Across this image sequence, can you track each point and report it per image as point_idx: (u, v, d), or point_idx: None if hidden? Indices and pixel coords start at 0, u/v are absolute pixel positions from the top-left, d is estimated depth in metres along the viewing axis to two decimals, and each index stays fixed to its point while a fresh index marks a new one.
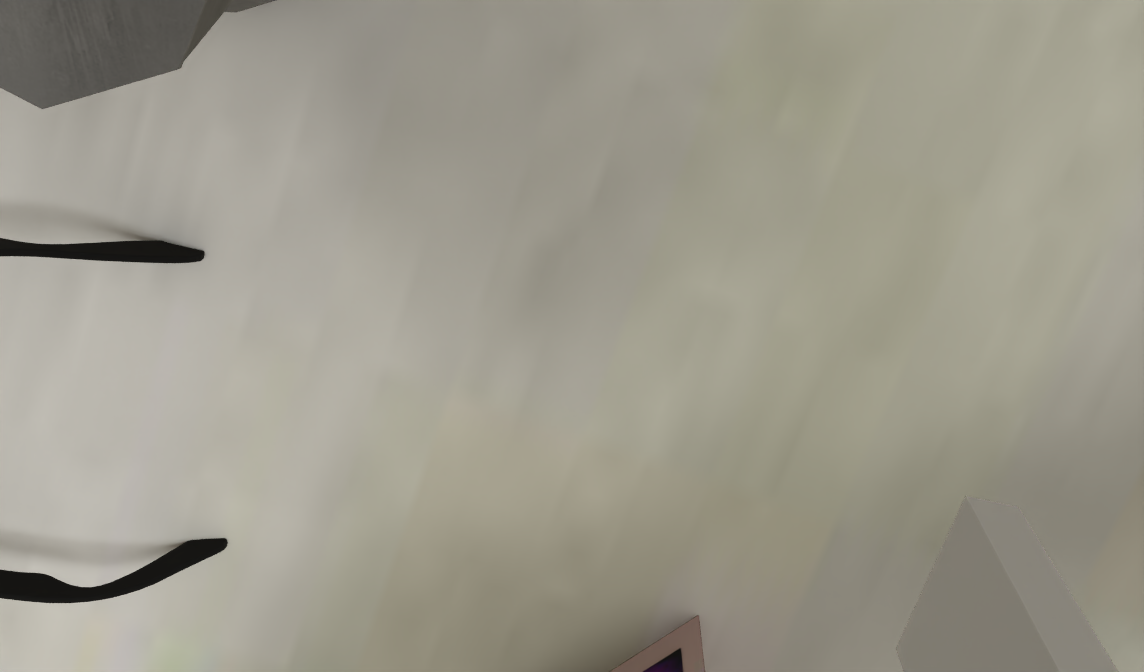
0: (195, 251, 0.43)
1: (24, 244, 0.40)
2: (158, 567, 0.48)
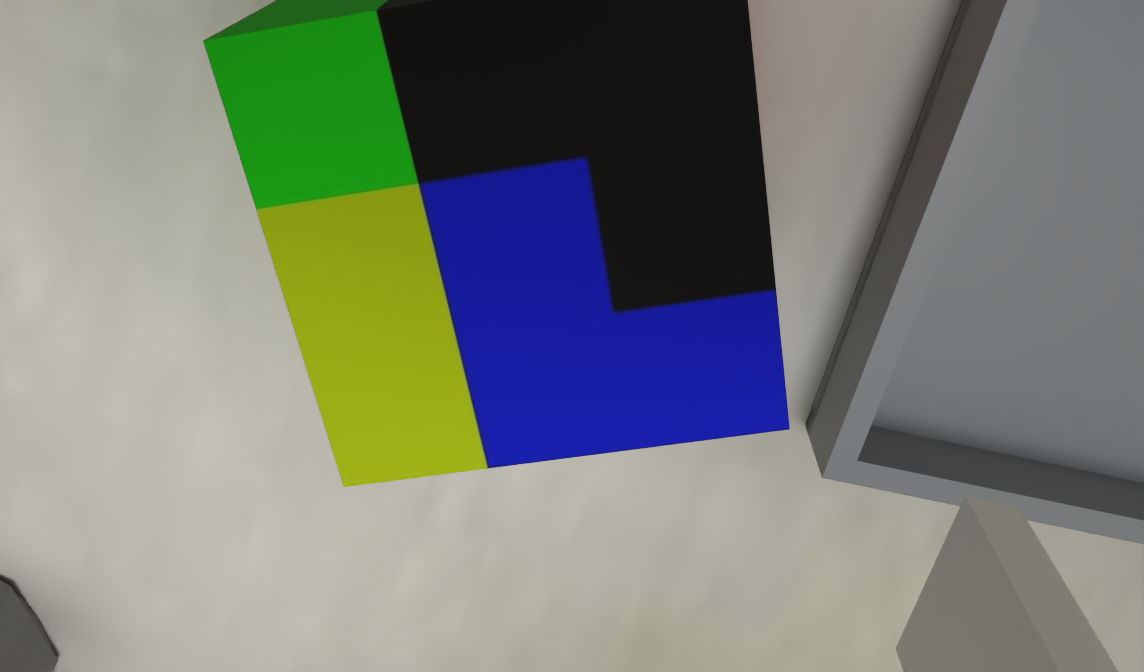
0: None
1: None
2: None
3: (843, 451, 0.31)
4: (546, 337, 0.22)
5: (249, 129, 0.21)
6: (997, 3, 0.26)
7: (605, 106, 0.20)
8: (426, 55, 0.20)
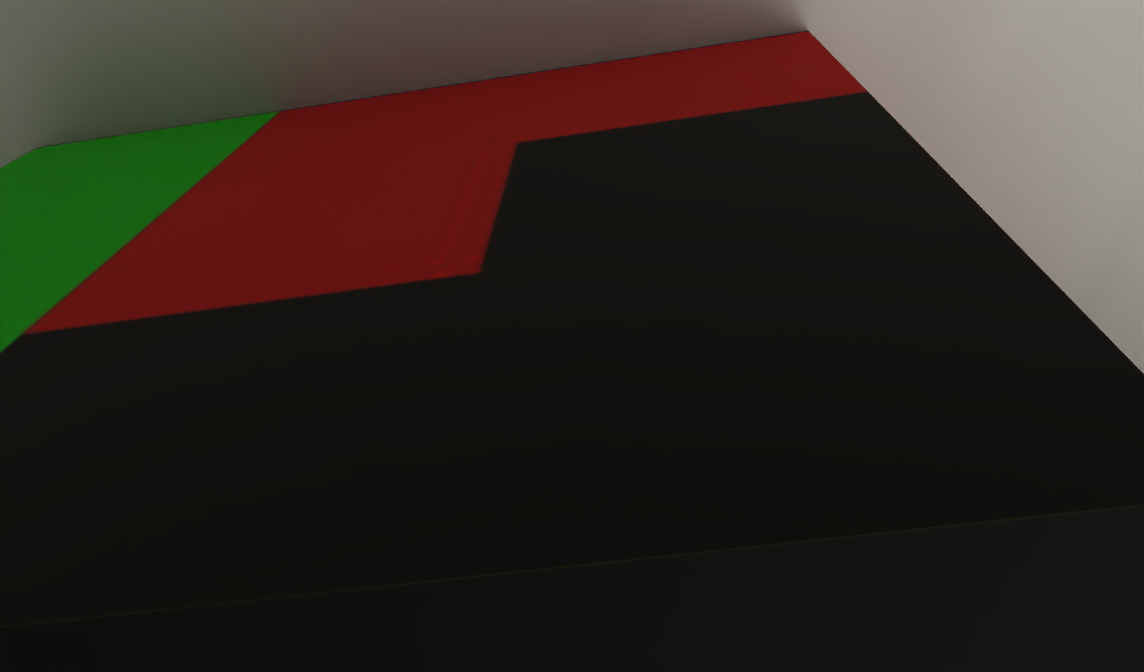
0: None
1: None
2: None
3: None
4: None
5: None
6: None
7: None
8: None
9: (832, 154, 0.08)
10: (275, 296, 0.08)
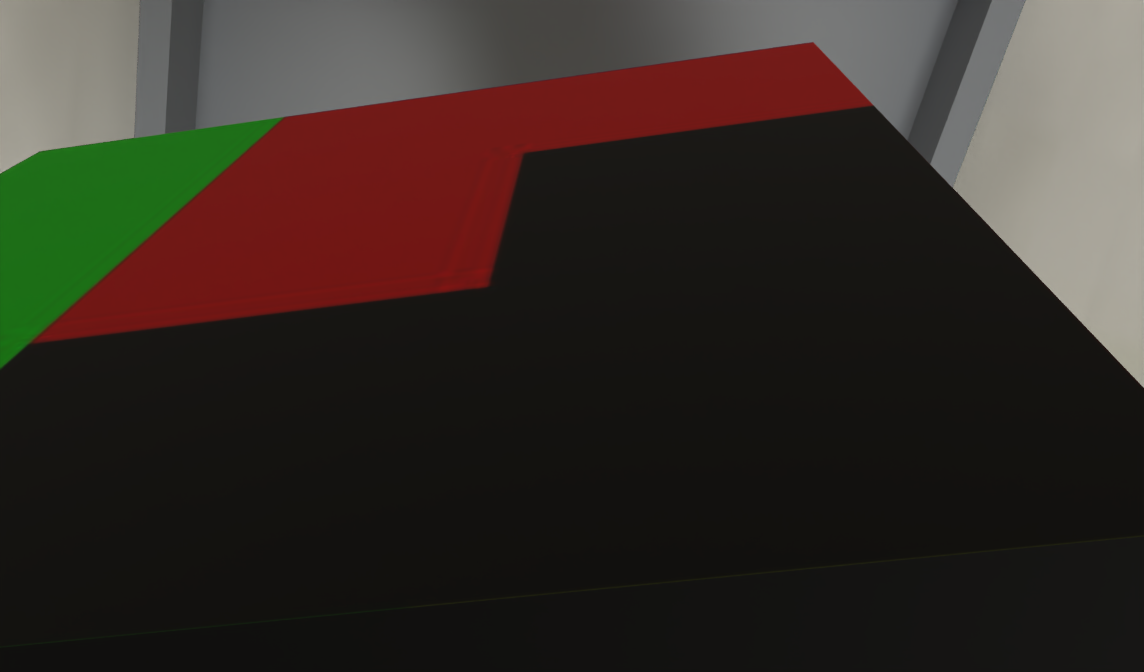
0: None
1: None
2: None
3: None
4: None
5: None
6: None
7: None
8: None
9: (837, 170, 0.08)
10: (285, 306, 0.08)
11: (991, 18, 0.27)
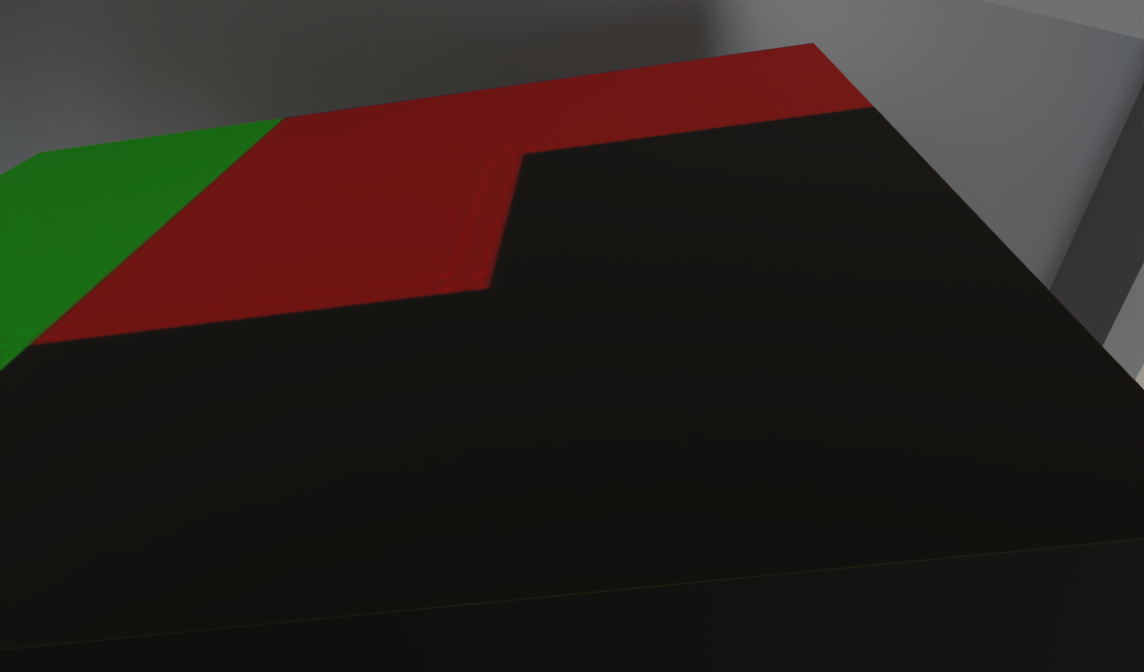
0: None
1: None
2: None
3: None
4: None
5: None
6: None
7: None
8: None
9: (839, 170, 0.08)
10: (285, 309, 0.08)
11: None
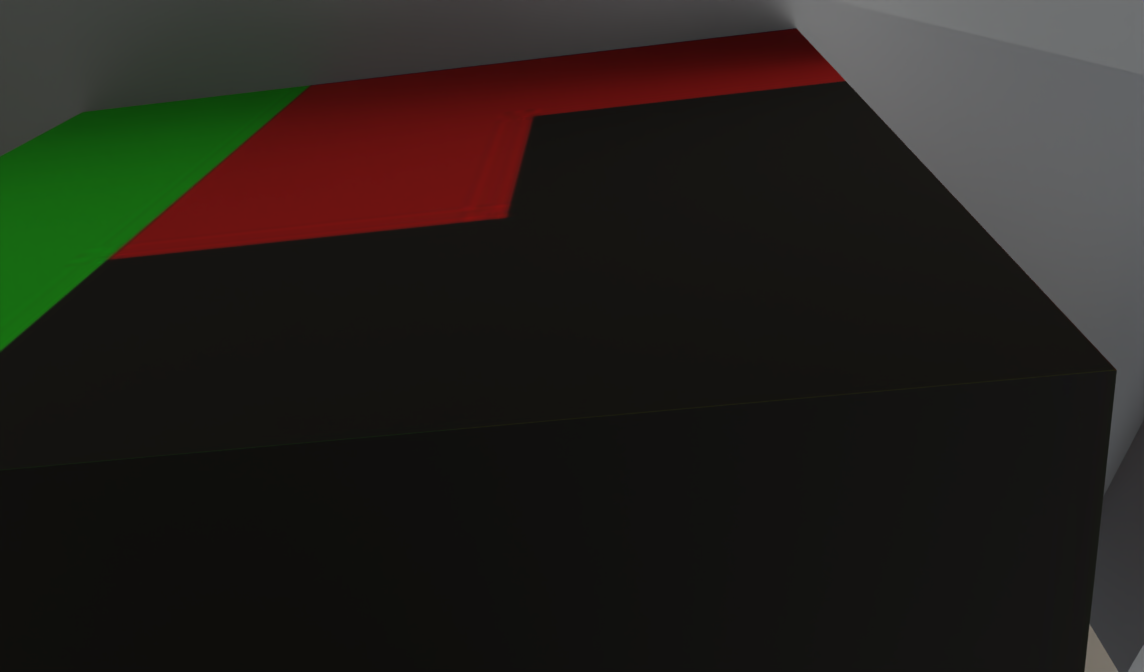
0: None
1: None
2: None
3: None
4: None
5: None
6: None
7: None
8: (32, 610, 0.06)
9: (811, 131, 0.10)
10: (330, 233, 0.09)
11: None
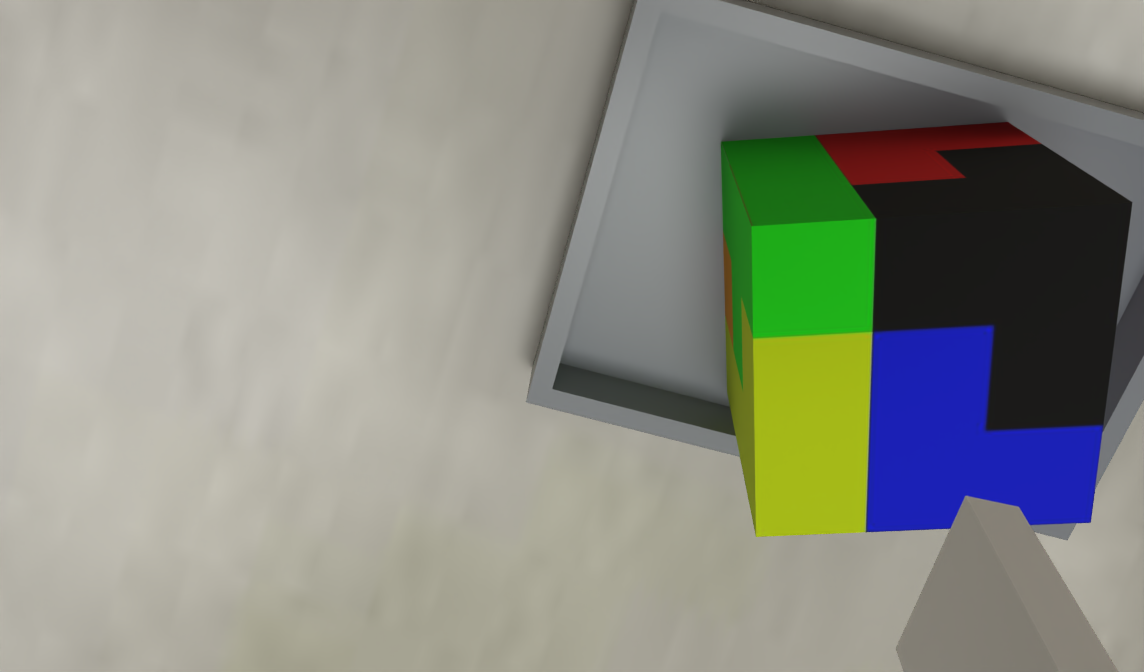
0: None
1: None
2: None
3: (540, 380, 0.40)
4: (933, 443, 0.31)
5: (765, 285, 0.30)
6: (628, 31, 0.35)
7: (1015, 294, 0.29)
8: (901, 249, 0.29)
9: (1040, 158, 0.33)
10: (914, 180, 0.32)
11: None
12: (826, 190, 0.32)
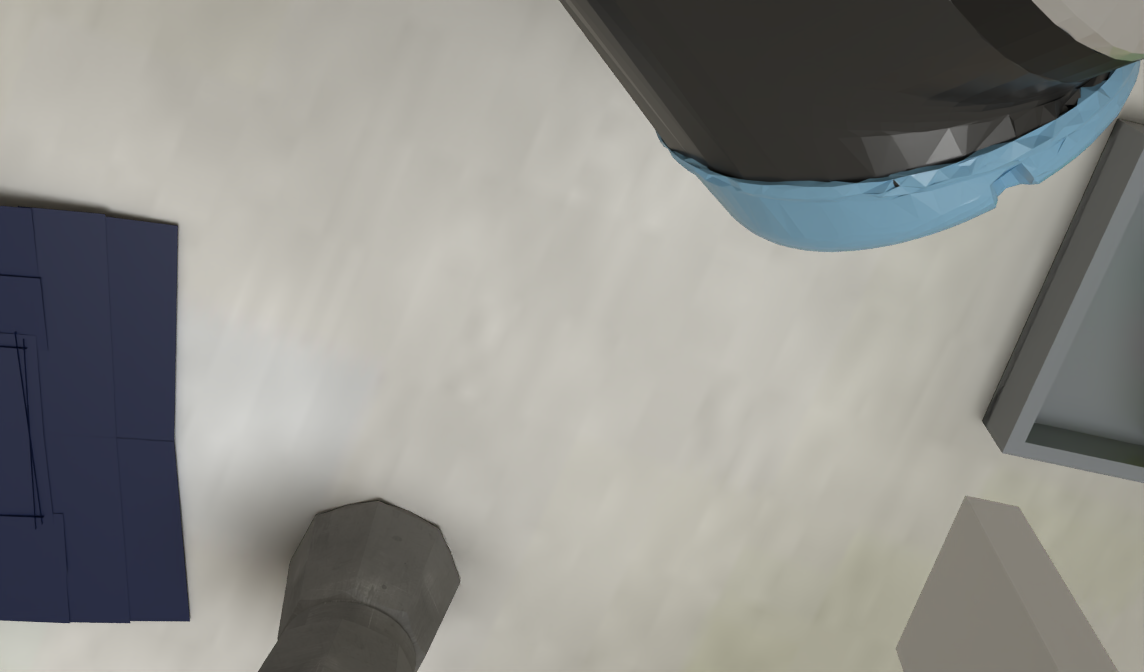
0: None
1: None
2: None
3: (1016, 436, 0.50)
4: None
5: None
6: (1125, 173, 0.45)
7: None
8: None
9: None
10: None
11: None
12: None
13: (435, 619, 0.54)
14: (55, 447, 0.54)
